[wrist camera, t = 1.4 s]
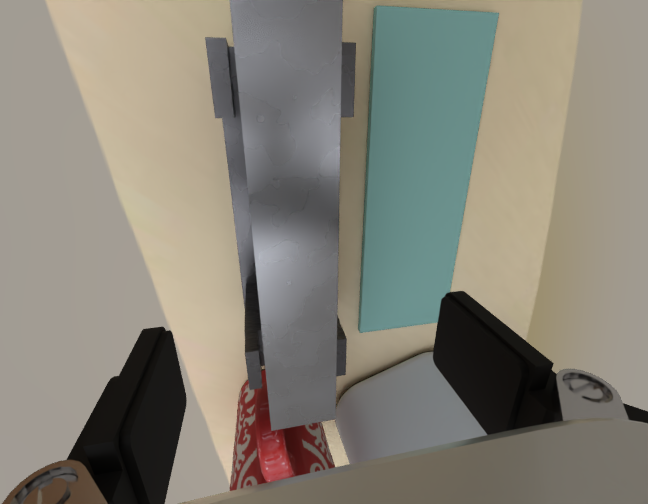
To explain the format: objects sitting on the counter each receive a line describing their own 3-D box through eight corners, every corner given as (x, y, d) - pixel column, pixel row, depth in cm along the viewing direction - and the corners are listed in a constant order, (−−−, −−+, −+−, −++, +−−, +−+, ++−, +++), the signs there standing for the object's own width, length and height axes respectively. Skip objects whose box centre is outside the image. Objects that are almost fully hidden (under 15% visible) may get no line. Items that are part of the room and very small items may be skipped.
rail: (232, 7, 14) (227, -27, 11) (321, 12, 15) (343, -18, 12) (268, 381, 23) (271, 431, 20) (322, 372, 24) (335, 418, 20)
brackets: (215, 55, 21) (193, 21, 13) (322, 58, 22) (364, 29, 14) (246, 316, 29) (244, 396, 21) (323, 307, 30) (350, 379, 22)
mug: (322, 416, 36) (358, 571, 24) (237, 434, 34) (231, 610, 22) (315, 321, 31) (358, 459, 19) (216, 337, 29) (192, 499, 17)
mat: (373, 8, 22) (377, 5, 21) (493, 15, 23) (498, 13, 23) (358, 329, 32) (360, 332, 32) (441, 318, 34) (444, 321, 33)
